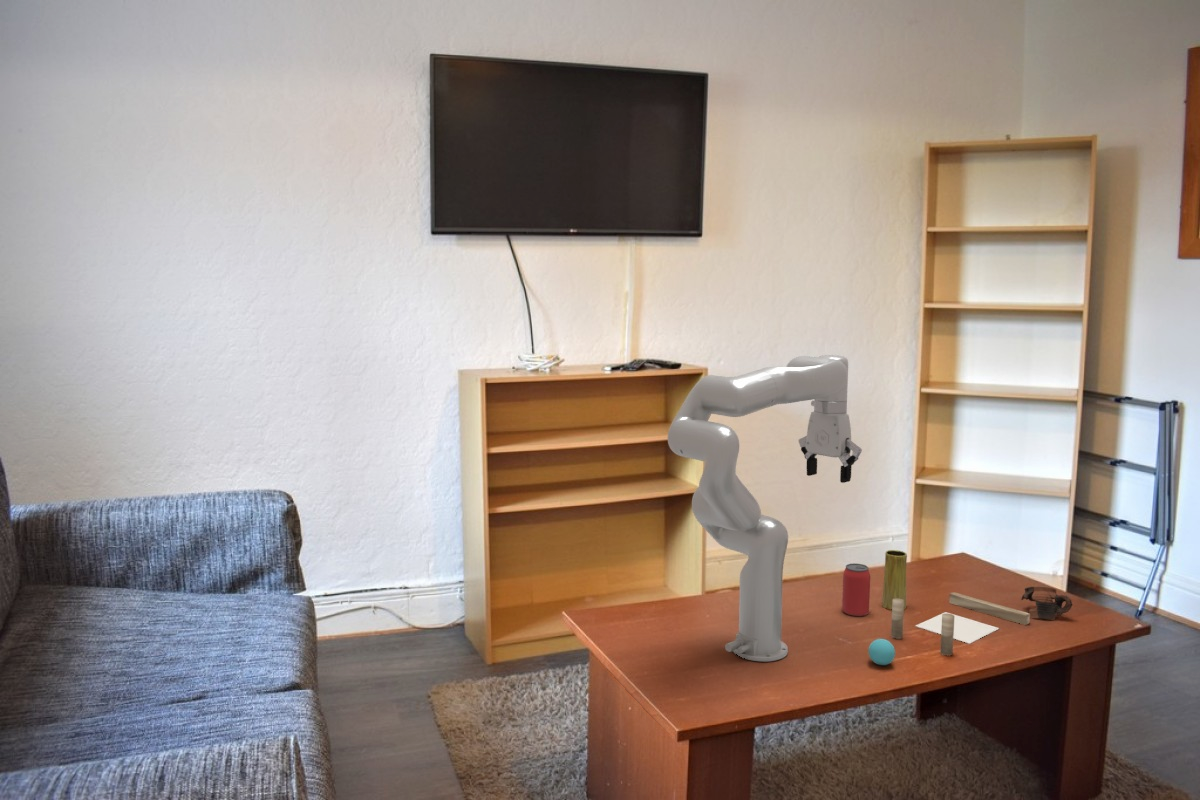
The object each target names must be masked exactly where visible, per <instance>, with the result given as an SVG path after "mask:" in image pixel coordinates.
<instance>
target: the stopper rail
mask: <svg viewBox="0 0 1200 800" xmlns="http://www.w3.org/2000/svg"><path fill="white" fill-rule="evenodd" d="M948 597H949V600H948V603H949V604H951V605H955V606H958V607H962V608H964V609H969V610H971V609H972V610H971V611H975V612H978V611H979V613H981V612H983V613H982V614H985V613H986V614H985V615H988V614H989V616H992V617H995V616H996V617H995V618H998V617H1000V618H999V619H1003V620H1005V621H1009V622H1012V623H1015V622H1016V624H1019V623H1020V625H1022V624H1023V626H1027V625H1028V624H1030V612H1029V613H1028V612H1026V611H1023V610H1018V609H1015V608H1012V607H1008V606H1004V605H1001V604H998V603H995V602H994V603H993V602H990V601H986V600H982V599H980V598H975V597H972V596H968V595H966V594H963V593H962V594H961V593H958V592H955V591H954V592H950V593H949V596H948Z"/></svg>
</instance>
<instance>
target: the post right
mask: <svg viewBox="0 0 1200 800" xmlns="http://www.w3.org/2000/svg"><path fill="white" fill-rule="evenodd" d="M944 613H945V612H944ZM947 613H948V612H947ZM947 613H945V614H942V613H941V614H942V629H941V635H940V650H939V651H940V652H939V654H940V655H942V654H943V655H942V656H944V655H947V656H946V657H949V656H948V655H952V654H953V651H954V639H953V636H954V617H955V616H954V615H955V614H954V615H952V614H953V613H951V614H947ZM952 656H953V655H952Z"/></svg>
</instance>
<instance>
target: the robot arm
mask: <svg viewBox="0 0 1200 800" xmlns="http://www.w3.org/2000/svg"><path fill="white" fill-rule="evenodd" d="M848 375H849V361H848V358H847V357H845V356H844V355H836V354H835V355H834V354H825V355H824V354H823V355H820V356H806V355H799V356H796V357H794V358H792V359H791V360H789V362H788V363H787V365H786V366H768V367H764V368H761V369H757V370H755V371H751V372H747V373H745V374H740V375H737V376H723V375H714V374H709V375H708V374H707V375H705V376H703V377H701V378H700V379H699V381H697V382H696V384H695V385H694V386H693V387H692V389H691V390H690V391H689V393H688V394H687V397H686V398H685V399H684V402H683V403H682V405H681V407H680V408H679V409H678V411H677V413H676V415H675V417H674V419H673V420H672V422H671V424H670V426H669V429H668V433H667V444H668V447H669V449H670V450H671V451H672V453H674V454H675V455H677V456H680V457H682V458H687V459H691V460H697V461H700V462H704V468H703V471H702V473H701V474H702V475H701V477H700V479H699V483H698V484H699V485H698V487H697V488H696V489H695V490H694V493H693V494H692V500H691V509H692V513H693V516H694V518H695V519H696V521H697V522H698V523H699V525H701V526H702V528H703V529H704V530H705V531H706V532H707V533H708V534H709V535H710V536H711V537H712V539H713V540H715V541H716V543H718V545H720V546H721V547H723V548H725V549H729V550H730V551H734V552H737V553H740V554H743V555H746V556H747V558H748V559H747V560H746V562H745V564H744V565H743V566H742V569H740V575H739V595H738V597H739V598H738V599H739V600H738V601H739V610H738V616H739V617H738V632H737V633H736V635H735V639H734V640H733V641H730V642H727V643H725V646H724V647H725V651H727V652H728V653H731V652H733V654H735V655H736V654H737V655H738V656H737V655H736V656H737V657H739V656H740V658H741V657H742V659H744V658H745V659H744V660H748V661H753V662H761V663H762V662H764V663H766V662H775V661H780V660H782V659H784V658H785V657H786V656H788V652H789V647H788V645H787V644H786V643H785V642H784V641H782V621H783V620H782V619H783V618H782V616H783V614H782V612H783V576H784V575H783V573H784V572H783V571H784V563H785V558H786V557H785V556H786V552H787V548H788V544H789V534H788V533H789V532H788V529H787V528H786V526H785V525H784V524H783V523H782V522H781V521H780V520H778V519H776V518H774V517H771V516H768V515H764V514H762V511H761V510H762V509H761V507H760V504H759V502H758V500H757V499H756V497H754V495H753V494H752V493H751V492H750V490H749V489H748V488H747V487H746V486H745V485H744V483H743V482H742V481H741V480H740V478H739V477H738V475H737V473H736V472H737V471H736V469H737V463H738V462H737V461H738V457H739V453H740V439H739V437H738V435H737V432H736V431H735V430H733V428H731V427H730V426H728V425H725V424H723V423H720V422H715V421H709V420H710V417H711V415H717V416H723V417H730V418H740V417H745V416H747V415H750V414H753V413H756V412H758V411H761V410H765V409H768V408H770V407H773V406H777V405H784V404H791V403H792V404H793V403H798V402H805V401H806V402H807V401H811V402H810V405H811V406H812V407H813V411H812V412H810V414H809V419H808V425H807V431H806V435H805V436H803V437H801V438H799V439H798V444H799V447H800V451H801V452H802V453H803V456H804V460H806V476H808V477H809V476H815V475H817V473H818V458H817V457H816V456H817V455H818V456H823V457H827V458H829V457H830V458H838V459H839V461H840V462H841V464H842V465H840V473H839V475H840V479H839V481H840V483H843V484H844V483H847V482H850V481H851V478H852V467H853V465H855V463H856V462H857V461H858V460H859V456H860V455H861V453H862V452H863V449H862V448H861V447H860V446H858V445H857V444H856V443H855V442H853V440H852V430H851V429H852V428H851V422H850V414H848V412H847V411H848V384H849V383H848V381H849V380H848V379H849V376H848ZM851 451H852V454H851Z"/></svg>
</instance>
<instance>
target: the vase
mask: <svg viewBox="0 0 1200 800" xmlns="http://www.w3.org/2000/svg"><path fill="white" fill-rule="evenodd" d="M884 555H885V559H884V571H883V573H884V575H883V583H882V584H883V586H882V587H883V588H882V596H881V597H882V599H881V600H882V601H881V606H882V607H883V608H884V609H886V608H887V609H886V610H890V609H892V600H893V599H895V598H898V599H903V600H904V610H906V609H907V557H908V555H907V552H906V551H902V550H897V549H891V550H890V549H889V550H886V551H885V553H884Z"/></svg>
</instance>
